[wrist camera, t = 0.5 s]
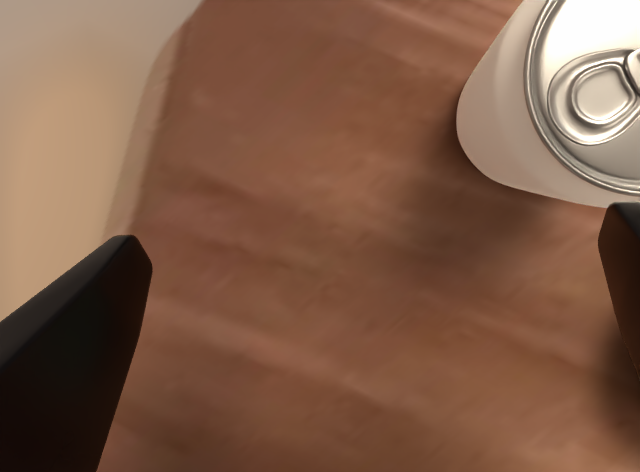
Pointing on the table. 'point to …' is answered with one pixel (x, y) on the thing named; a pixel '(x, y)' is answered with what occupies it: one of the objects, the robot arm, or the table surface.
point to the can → (559, 102)
